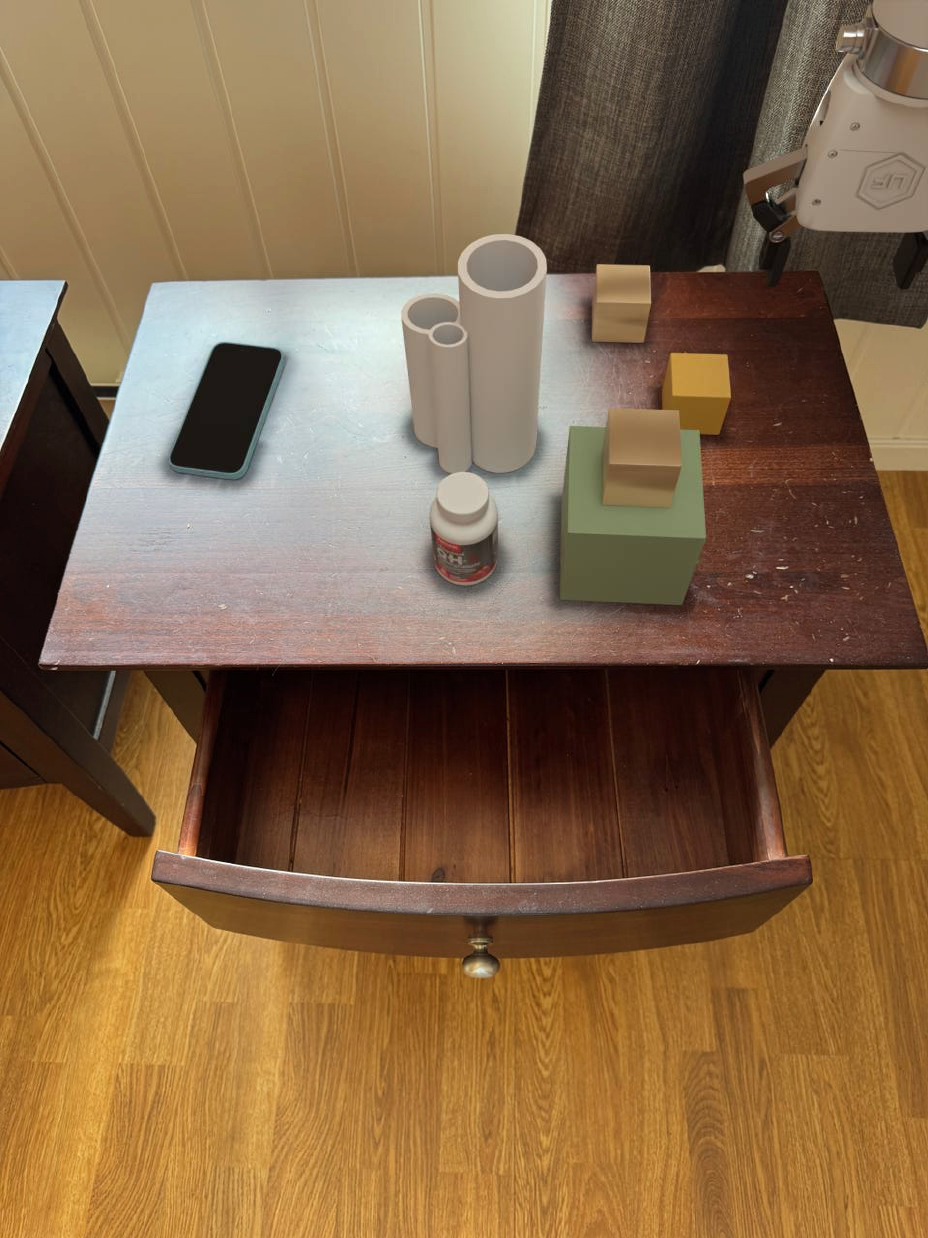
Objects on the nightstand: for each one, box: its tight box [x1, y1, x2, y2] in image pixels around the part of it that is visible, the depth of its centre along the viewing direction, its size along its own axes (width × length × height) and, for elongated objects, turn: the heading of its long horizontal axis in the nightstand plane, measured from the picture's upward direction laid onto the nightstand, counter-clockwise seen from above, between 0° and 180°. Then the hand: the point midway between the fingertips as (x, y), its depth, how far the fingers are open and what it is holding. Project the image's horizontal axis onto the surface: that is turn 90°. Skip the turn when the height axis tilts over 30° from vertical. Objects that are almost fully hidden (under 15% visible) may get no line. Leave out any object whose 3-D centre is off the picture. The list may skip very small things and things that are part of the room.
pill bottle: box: [429, 471, 499, 586], centre depth 75 cm, size 5×5×10 cm
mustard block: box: [661, 352, 732, 436], centre depth 84 cm, size 5×5×5 cm
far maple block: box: [591, 263, 652, 344], centre depth 89 cm, size 5×5×5 cm
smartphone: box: [168, 341, 286, 480], centre depth 87 cm, size 7×1×15 cm
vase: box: [400, 233, 548, 474], centre depth 76 cm, size 11×7×20 cm, turn 83°
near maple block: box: [602, 407, 682, 508], centre depth 68 cm, size 5×5×5 cm
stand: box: [558, 425, 707, 606], centre depth 75 cm, size 10×10×10 cm
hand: (834, 275), depth 71 cm, fingers open, 9 cm apart
